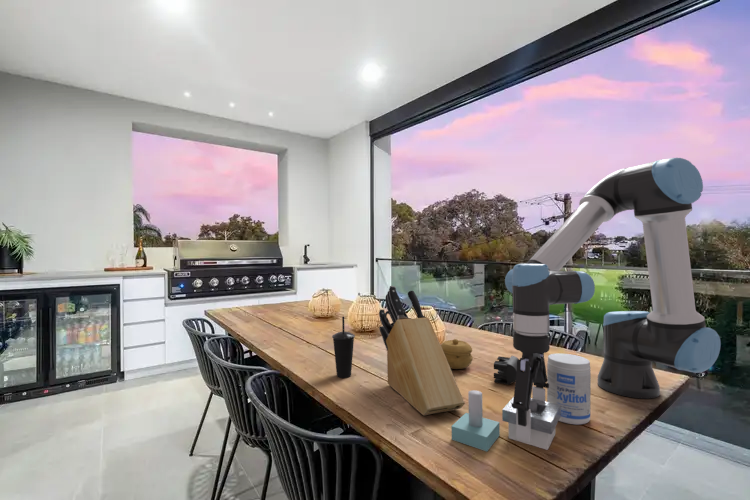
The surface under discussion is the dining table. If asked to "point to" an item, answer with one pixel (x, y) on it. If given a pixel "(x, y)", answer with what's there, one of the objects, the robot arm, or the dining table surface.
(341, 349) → the drinking cup
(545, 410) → the square block with hole
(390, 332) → the knife block
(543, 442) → the stand
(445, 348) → the pot
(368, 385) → the dining table surface
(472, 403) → the teal peg base
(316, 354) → the dining table surface
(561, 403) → the supplement tub
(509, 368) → the end cap
